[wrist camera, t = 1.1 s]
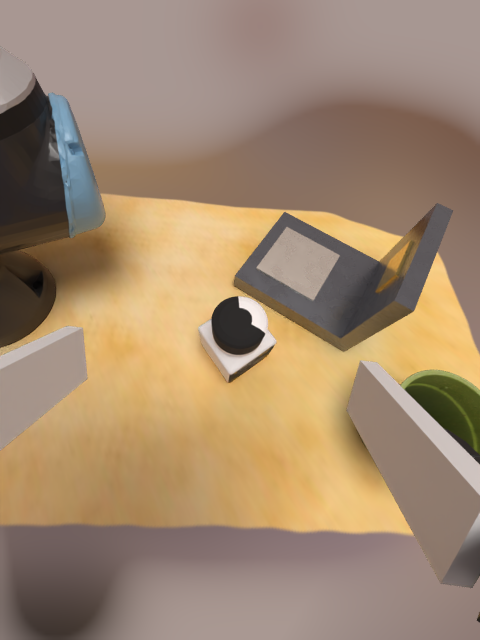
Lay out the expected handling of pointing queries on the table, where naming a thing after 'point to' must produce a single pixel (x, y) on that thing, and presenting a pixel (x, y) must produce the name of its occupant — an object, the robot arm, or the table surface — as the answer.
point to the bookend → (340, 278)
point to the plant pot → (448, 402)
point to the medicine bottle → (237, 336)
